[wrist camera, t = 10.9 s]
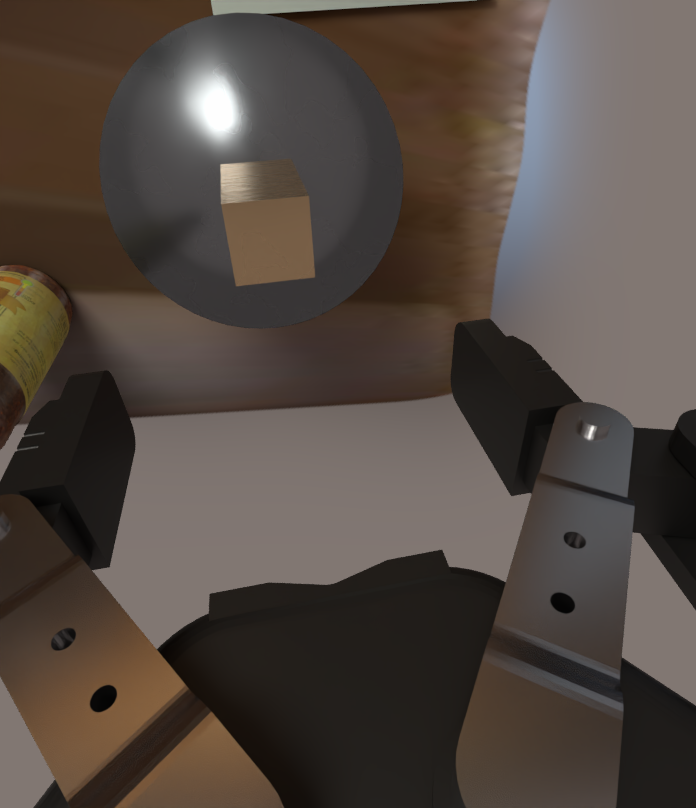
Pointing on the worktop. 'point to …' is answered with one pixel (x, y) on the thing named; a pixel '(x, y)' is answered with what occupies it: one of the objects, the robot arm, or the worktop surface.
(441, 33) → the worktop surface
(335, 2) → the mat
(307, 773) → the robot arm
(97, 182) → the worktop surface
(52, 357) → the sauce bottle
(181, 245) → the lid
